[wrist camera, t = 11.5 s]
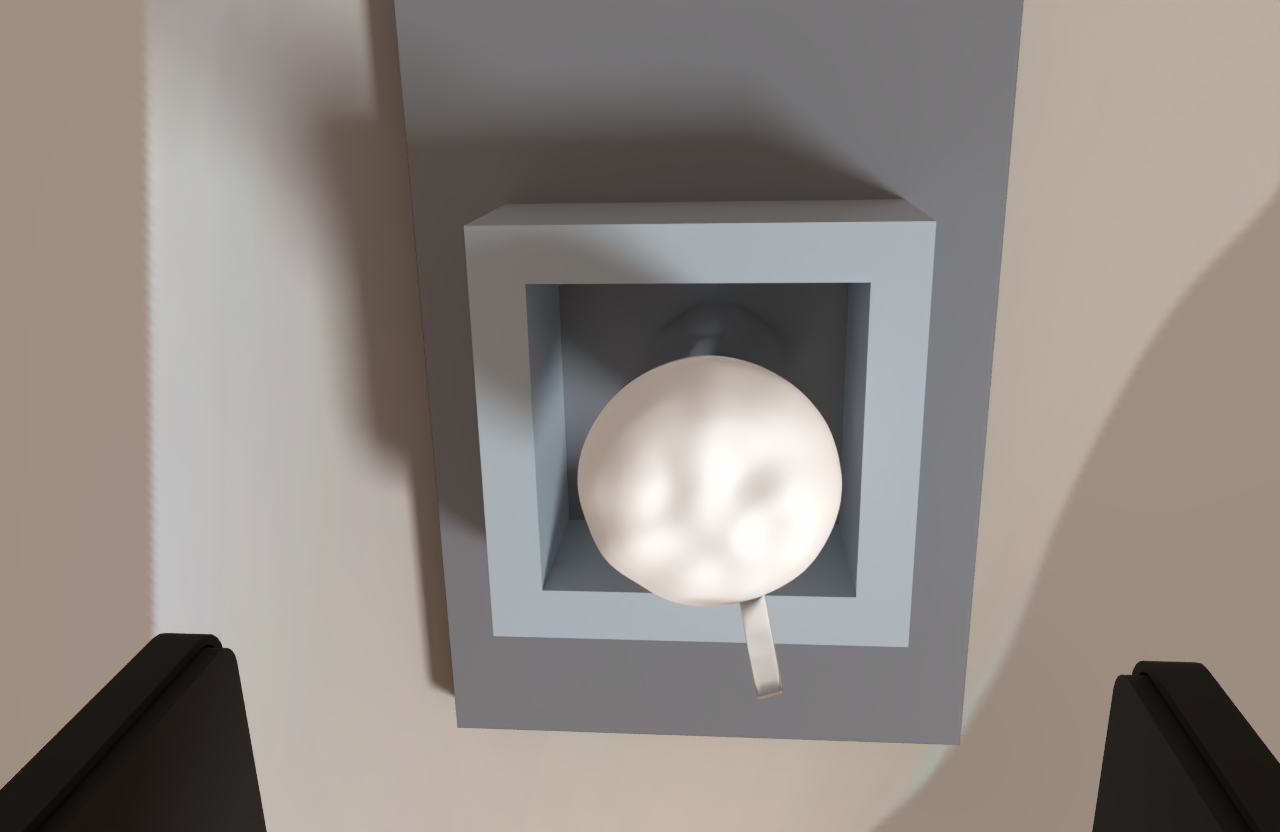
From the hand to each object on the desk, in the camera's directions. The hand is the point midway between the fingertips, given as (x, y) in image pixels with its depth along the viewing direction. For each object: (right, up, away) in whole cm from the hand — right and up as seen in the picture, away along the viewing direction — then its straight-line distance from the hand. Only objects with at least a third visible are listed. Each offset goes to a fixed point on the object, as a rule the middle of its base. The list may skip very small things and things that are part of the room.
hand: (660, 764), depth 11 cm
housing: (+1, +5, +16) cm, 17 cm away
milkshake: (+2, +5, +15) cm, 16 cm away
